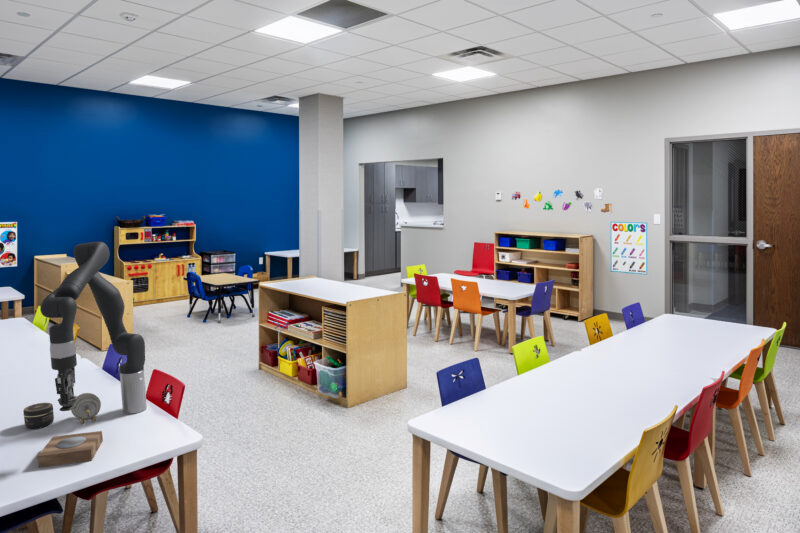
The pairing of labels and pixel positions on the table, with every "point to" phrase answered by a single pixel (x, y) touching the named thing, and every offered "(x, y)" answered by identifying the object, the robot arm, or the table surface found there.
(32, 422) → the jar
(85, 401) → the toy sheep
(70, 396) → the stone chess piece
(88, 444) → the walnut plinth
